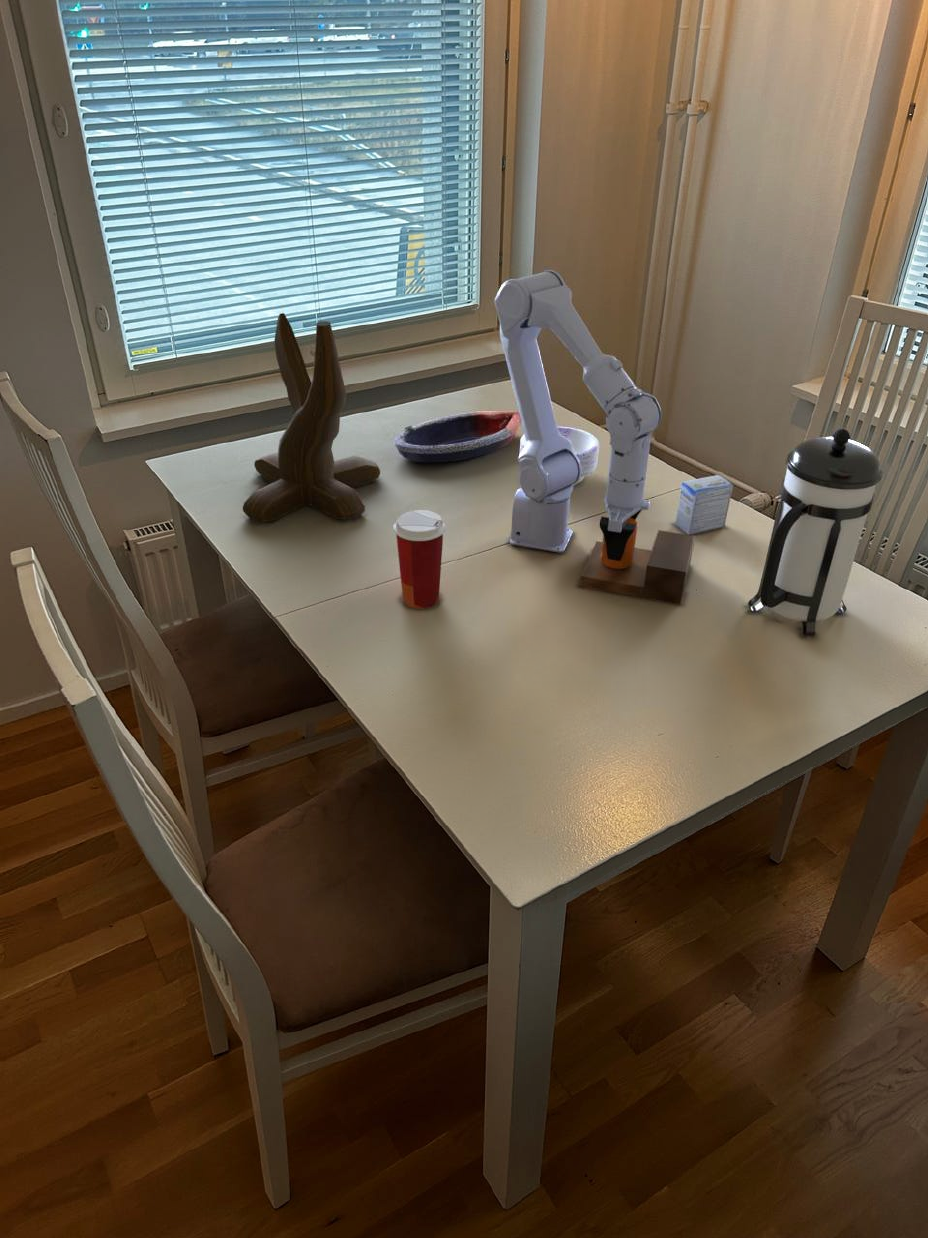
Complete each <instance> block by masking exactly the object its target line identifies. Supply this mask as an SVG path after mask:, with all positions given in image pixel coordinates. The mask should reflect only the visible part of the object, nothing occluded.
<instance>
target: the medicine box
mask: <svg viewBox="0 0 928 1238" xmlns="http://www.w3.org/2000/svg"><path fill="white" fill-rule="evenodd" d="M733 487H734V485H733V484H732V483H731V482H730V481H728V480H727V479H726V478H724V477H722V476H720V475H719V474H716V475H711V476H706V477H700V478H696V479H691V480H686V481H683V482H681V485H680V490H679V491H680V492H679V499H678V503H677V510H676V515H675V516H676V517H675V521H674V522H675V523H674V524H675V525H676V526H677V527H678V528H679V529H680V530H681V531H683V532H684V533H685V534H686V535H693V534H694V535H695V534H698V533H702V532H707V531H711V530H716V529H720V528H725V527H726V523H727V522H726V521H727V517H728V512H729V508H730V502H731V497H732V494H733V493H732V492H733Z"/></svg>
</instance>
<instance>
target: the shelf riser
mask: <svg viewBox="0 0 928 1238" xmlns="http://www.w3.org/2000/svg"><path fill="white" fill-rule="evenodd" d="M695 539H696V536H695V535H693V534H690V535H688V534H686V533H685V534H684V533H678V532H674V531H668V530H662V529H661V530H660V529H658V530H657V533H656V537H655V540H654V542H653V546H652V548H651V549H645V548H640V547H635V548H634V556H633V563H632V565H631V566H629V567H627V568H622V569H616V568H611V567H608V566H606V565H604V564H603V563H602V562H601V551H602V542H603V541H598V540H596V541H595V543H594V545H593V548H592V550H591V553H590V555H589V557H588V560H587V561H586V565H585V567H584V569H583V572H582V574H581V577H580V585H579V586H580V587H582V588H587V589H591V590H592V589H593V590H598V591H603V592H609V593H613V594H614V593H615V594H620V595H625V596H631V597H637V598H643V599H647V600H653V601H659V602H665V603H670V604H674V605H675V604H676V605H681V604H682V600H683V596H684V593H685V587H686V583H687V580H688V576H689V571H690V568H691V562H692V556H693V550H694V545H695Z"/></svg>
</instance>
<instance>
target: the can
mask: <svg viewBox="0 0 928 1238" xmlns="http://www.w3.org/2000/svg"><path fill="white" fill-rule="evenodd" d="M607 517H608V516H607ZM608 518H609V517H608ZM626 523H631V524H637V526H636V529H635V530H634V532H633V533H632V535H631V536H630V537H629V539H628V541H627V544H626V547H625V551H624V554H623V556H622V559H621V561H616V560H610V559H608V557H607V551H606V542H605V538H604V535H602V541H601V542H602V551H601V562H602V563H603V564H604V565H606V566H608V567H611V568H616V569H622V568H627V567H629V566H631V565H632V563H633V556H634V548H636V541H637V533H638V527H639V526H638V525H639V524H638V521H637V519H636V520H634V519H633V518H631V517H630V518H628V519H627V520H626Z"/></svg>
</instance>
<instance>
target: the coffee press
mask: <svg viewBox="0 0 928 1238" xmlns="http://www.w3.org/2000/svg"><path fill="white" fill-rule="evenodd" d="M785 466H786V474H785V476H784V478H783V479H782V482H781V487H780V491H779V495H780V498H779V502H778V505H777V509H776V514H775V518H774V522H773V526H772V531H771V536H770V540H769V545H768V548H767V552H766V558H765V562H764V565H763V570H762V574H761V579H760V583H759V587H758V591H757V593H756V594H755V595H754V596H753V597H752V598H751V599H749V600H748V602H747V606H748V608H749V610H750V612H752V613H756V612H758V611H760V610H762V609H763V608H765V607H767V608H768V609H769V610H770V611H772V612H774V613H776V614H777V615H779V616H781V617H783V618H787V619H789V620H794V621H799V622H801V625H802V634H803V637H812V638H813V637H815V636H816V633H817V632H816V628H817V627H816V624H817V622H819V621H824V620H826V619H829V618H831V617H833V616H834V615H835V614H836V613H837V614H838V615H841V614H845V613H846V611H847V606H846V604H845V603H844V600H843V598H844V594H845V591H846V589H847V585H848V581H849V578H850V575H851V571H852V568H853V564H854V561H855V557H856V554H857V550H858V547H859V544H860V540H861V537H862V534H863V530H864V527H865V523H866V520H867V517H868V514H869V513H870V511H871V509H872V506H873V502H874V499H875V490H876V486H877V484H879V483H880V481H881V479H882V476H883V473H884V471H883V468H882V466H881V464H880V460H879V457H878V456H877V454H876V453H875V452H874V451H872V450H871V449H870V448H869V447H868V446H865V445H864V444H861V443H860V442H857V441H855V440H851V434H850V432H849V431H848V430H847V429H845V428H839V429H837V430H835V431H834V432H833V434H832V436H820V437H818V436H817V437H813V438H809V439H806V440H804V441H802V442H800V443H798V444H797V445H796V446H795V447H794V449H793V450H791V451H790V452H789V453H788V454H787V456H786V459H785ZM759 600H760V602H759V603H757V602H758V601H759ZM756 603H757V604H756ZM755 604H756V605H755ZM841 605H842V606H841Z"/></svg>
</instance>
